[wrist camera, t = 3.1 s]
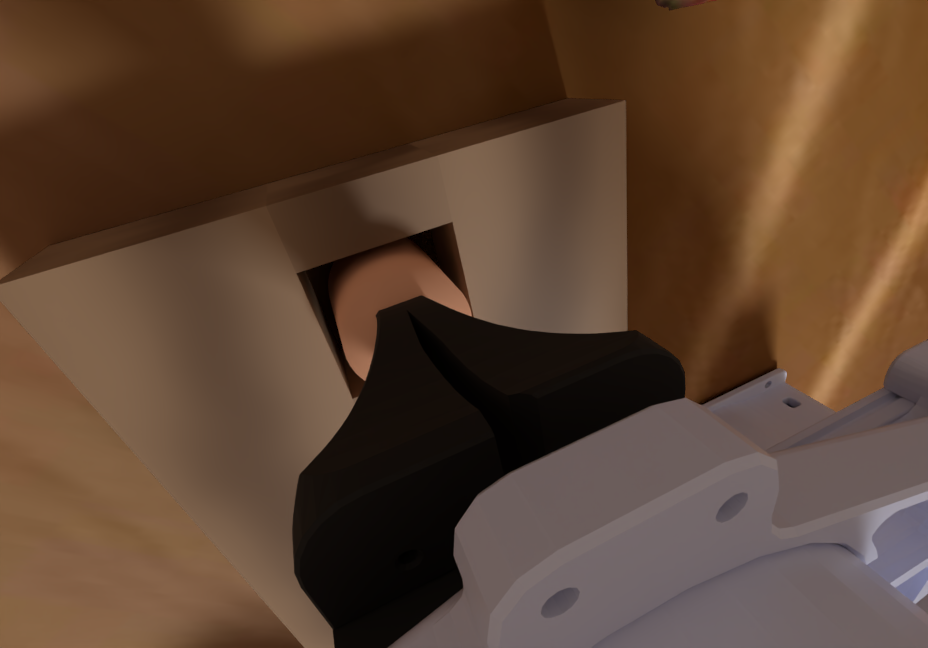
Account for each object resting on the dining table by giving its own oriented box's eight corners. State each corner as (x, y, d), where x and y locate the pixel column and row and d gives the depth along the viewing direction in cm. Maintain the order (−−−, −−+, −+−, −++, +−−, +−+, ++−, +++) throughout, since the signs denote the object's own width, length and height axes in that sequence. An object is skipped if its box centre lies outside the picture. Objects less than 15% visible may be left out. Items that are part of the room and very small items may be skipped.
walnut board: (568, 98, 15) (626, 100, 13) (597, 518, 28) (628, 560, 25) (48, 245, 12) (-11, 287, 9) (350, 646, 24) (358, 709, 22)
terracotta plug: (418, 218, 14) (457, 253, 11) (443, 311, 16) (482, 362, 13) (310, 253, 14) (321, 300, 11) (349, 346, 16) (367, 409, 13)
